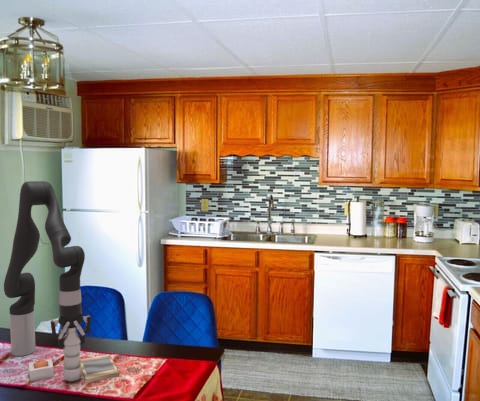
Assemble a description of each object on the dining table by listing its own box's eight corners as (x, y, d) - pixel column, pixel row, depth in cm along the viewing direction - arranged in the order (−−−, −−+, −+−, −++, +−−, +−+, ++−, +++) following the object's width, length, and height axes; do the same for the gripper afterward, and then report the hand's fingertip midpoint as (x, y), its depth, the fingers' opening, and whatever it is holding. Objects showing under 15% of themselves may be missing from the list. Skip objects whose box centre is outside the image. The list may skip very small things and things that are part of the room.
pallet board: (78, 363, 187) (78, 359, 187) (109, 357, 192) (109, 353, 192) (86, 383, 171) (85, 378, 171) (119, 376, 176) (119, 371, 176)
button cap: (34, 371, 178) (34, 361, 178) (46, 369, 180) (46, 359, 179) (35, 375, 174) (35, 365, 174) (47, 373, 176) (46, 363, 176)
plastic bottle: (76, 384, 169) (75, 330, 167) (59, 382, 170) (58, 328, 169) (85, 376, 175) (84, 324, 174) (69, 374, 177) (68, 322, 175)
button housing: (29, 372, 179) (28, 362, 179) (51, 368, 183) (51, 358, 182) (30, 381, 172) (29, 371, 172) (53, 377, 175) (53, 366, 175)
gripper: (89, 296, 177) (90, 339, 178) (48, 301, 170) (49, 346, 172) (92, 301, 170) (93, 346, 172) (49, 307, 164) (51, 353, 165)
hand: (71, 346), depth 172 cm, fingers closed on plastic bottle, 6 cm apart
